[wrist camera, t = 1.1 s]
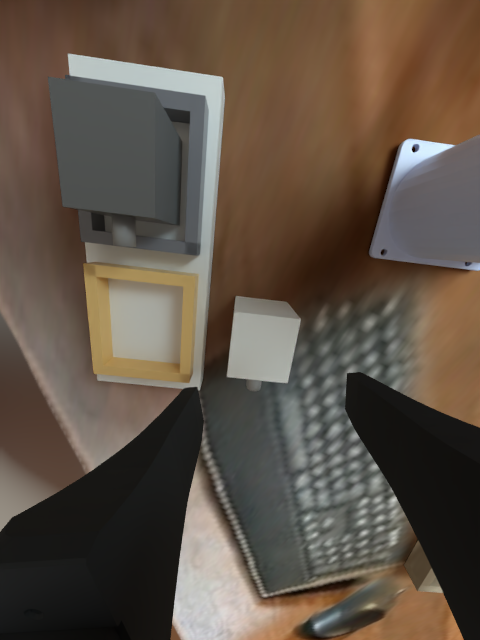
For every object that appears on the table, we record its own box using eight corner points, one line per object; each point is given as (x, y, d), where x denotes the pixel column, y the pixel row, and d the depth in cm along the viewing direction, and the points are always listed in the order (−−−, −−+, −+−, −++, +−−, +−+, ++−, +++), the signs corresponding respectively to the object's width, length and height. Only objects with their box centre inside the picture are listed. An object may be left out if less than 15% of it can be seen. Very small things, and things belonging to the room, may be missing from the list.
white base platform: (224, 97, 15) (220, 57, 12) (203, 378, 22) (196, 401, 19) (89, 77, 15) (47, 30, 12) (109, 368, 22) (86, 390, 19)
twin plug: (182, 141, 15) (155, 92, 10) (179, 249, 17) (154, 251, 12) (110, 131, 14) (48, 76, 10) (116, 241, 16) (66, 240, 12)
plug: (286, 301, 20) (301, 319, 15) (274, 367, 22) (283, 401, 17) (235, 295, 20) (234, 311, 15) (228, 362, 22) (224, 395, 17)
